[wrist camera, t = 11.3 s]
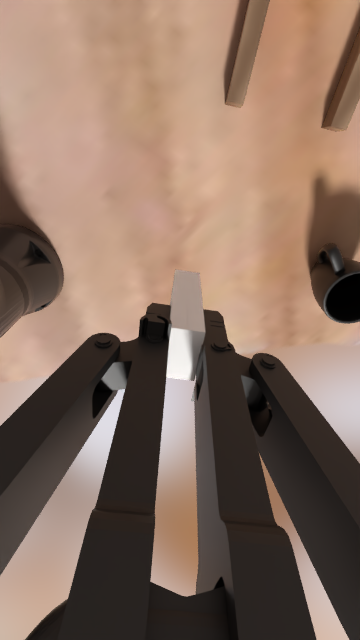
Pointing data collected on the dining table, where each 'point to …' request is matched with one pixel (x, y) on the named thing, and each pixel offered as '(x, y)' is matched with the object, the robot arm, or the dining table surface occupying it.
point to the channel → (352, 86)
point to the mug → (337, 285)
